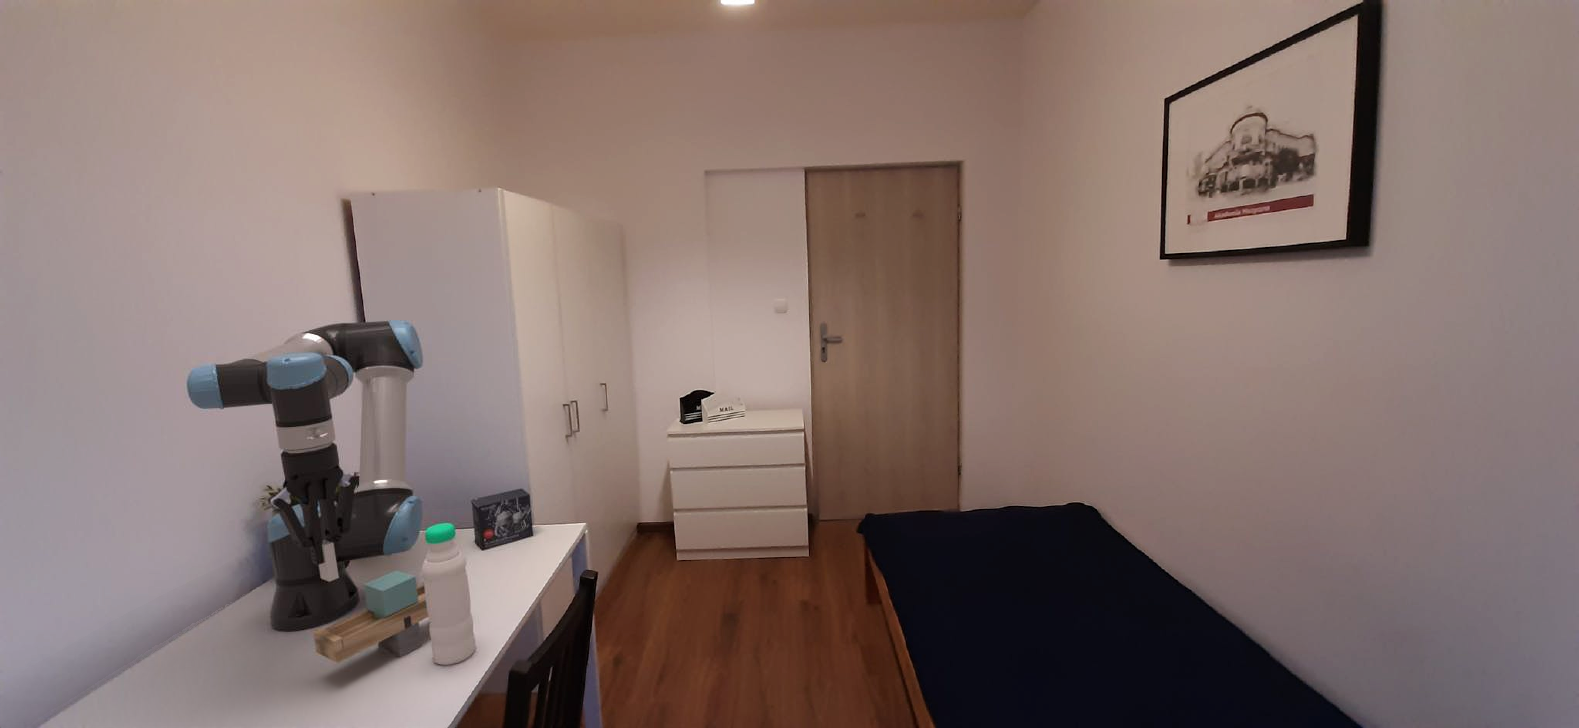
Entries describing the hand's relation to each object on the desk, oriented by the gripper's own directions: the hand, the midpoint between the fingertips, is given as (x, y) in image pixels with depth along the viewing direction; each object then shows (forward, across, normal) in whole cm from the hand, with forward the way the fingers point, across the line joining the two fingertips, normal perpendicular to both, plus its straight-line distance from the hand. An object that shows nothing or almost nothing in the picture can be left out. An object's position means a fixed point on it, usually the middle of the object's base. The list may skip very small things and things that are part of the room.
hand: (329, 577), depth 109 cm
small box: (+20, +51, +24) cm, 60 cm away
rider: (+11, +9, -1) cm, 15 cm away
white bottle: (+19, +12, -13) cm, 26 cm away
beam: (+19, +9, -1) cm, 21 cm away
